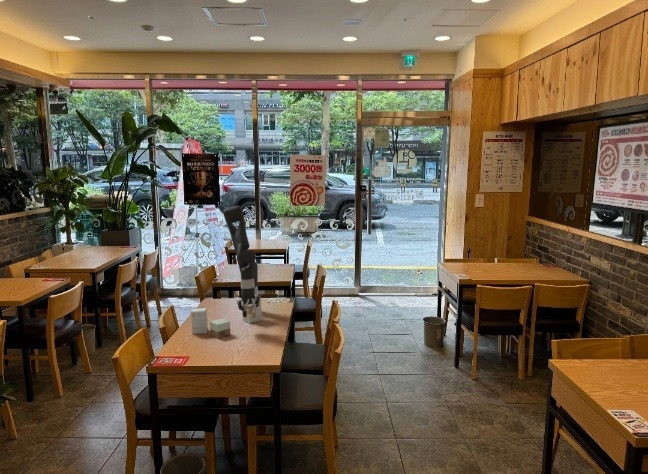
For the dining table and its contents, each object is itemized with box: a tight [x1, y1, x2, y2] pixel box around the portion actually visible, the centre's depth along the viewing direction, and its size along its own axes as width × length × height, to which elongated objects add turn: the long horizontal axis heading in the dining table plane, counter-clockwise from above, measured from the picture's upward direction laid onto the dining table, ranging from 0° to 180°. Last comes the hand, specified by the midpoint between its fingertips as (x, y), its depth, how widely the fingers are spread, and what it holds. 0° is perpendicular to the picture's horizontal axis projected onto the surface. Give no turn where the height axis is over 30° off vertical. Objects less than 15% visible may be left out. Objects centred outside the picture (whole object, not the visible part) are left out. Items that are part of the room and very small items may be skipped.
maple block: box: [242, 305, 256, 319], centre depth 254 cm, size 5×5×6 cm
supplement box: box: [241, 295, 263, 324], centre depth 277 cm, size 9×9×15 cm
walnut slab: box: [210, 328, 232, 339], centre depth 252 cm, size 8×8×4 cm
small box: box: [190, 307, 209, 335], centre depth 257 cm, size 8×6×13 cm
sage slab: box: [209, 318, 231, 332], centre depth 252 cm, size 8×8×4 cm
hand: (249, 315), depth 255 cm, fingers closed on maple block, 5 cm apart
